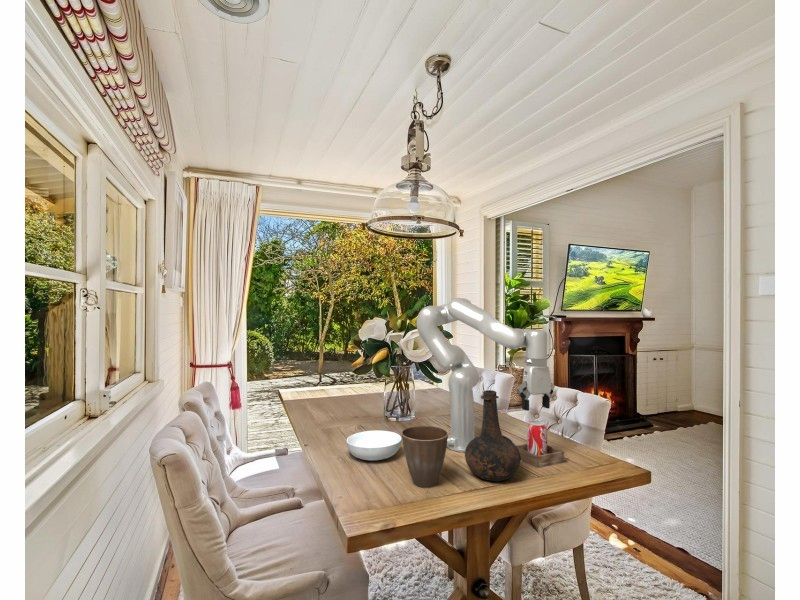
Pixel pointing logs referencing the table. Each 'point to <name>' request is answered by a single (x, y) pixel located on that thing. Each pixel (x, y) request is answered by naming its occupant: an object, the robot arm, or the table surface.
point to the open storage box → (541, 456)
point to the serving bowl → (374, 444)
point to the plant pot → (424, 453)
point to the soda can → (537, 438)
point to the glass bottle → (492, 446)
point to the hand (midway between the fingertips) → (535, 408)
